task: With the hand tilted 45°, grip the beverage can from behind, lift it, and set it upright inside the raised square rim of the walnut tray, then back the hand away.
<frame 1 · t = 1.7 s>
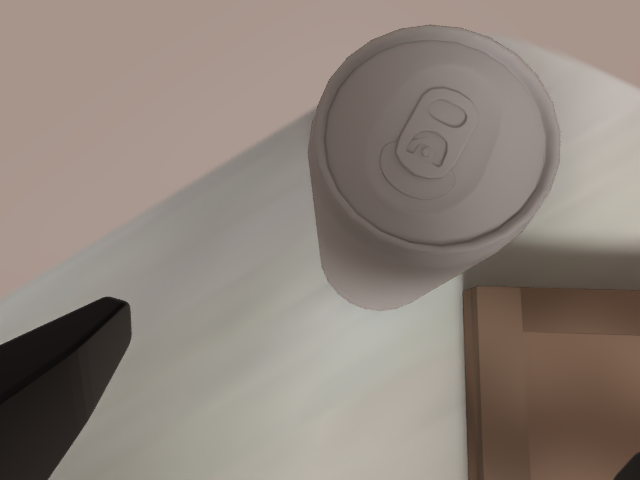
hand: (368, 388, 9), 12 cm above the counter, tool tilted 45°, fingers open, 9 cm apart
walnut tray: (626, 453, 19), on the counter
beverage can: (377, 254, 21), on the counter
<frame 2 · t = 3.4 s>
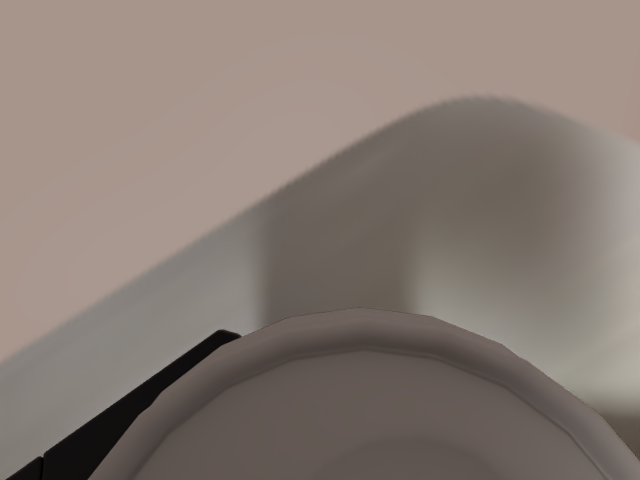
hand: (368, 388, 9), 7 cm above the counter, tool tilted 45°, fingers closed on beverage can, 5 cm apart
beverage can: (340, 415, 15), on the counter, touching gripper
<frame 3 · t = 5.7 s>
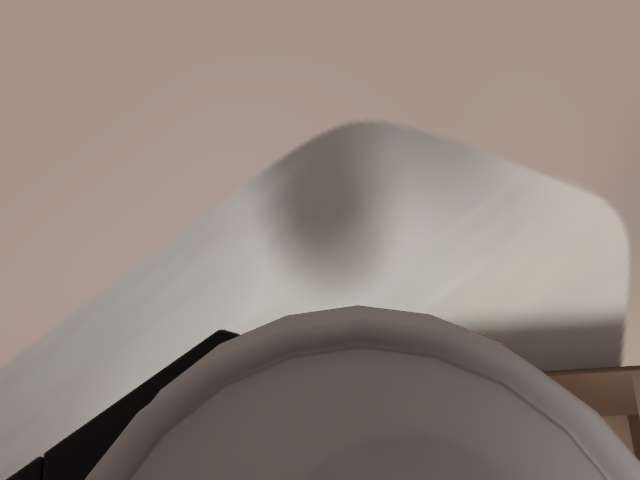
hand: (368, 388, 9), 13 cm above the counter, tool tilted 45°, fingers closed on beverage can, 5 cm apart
beverage can: (341, 413, 15), point 6 cm above the counter, touching gripper
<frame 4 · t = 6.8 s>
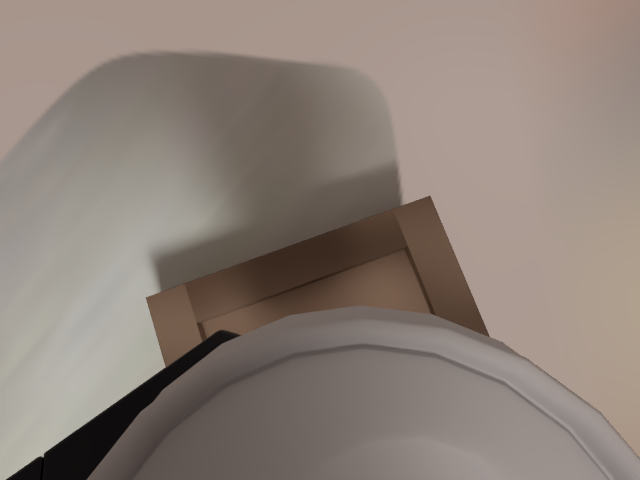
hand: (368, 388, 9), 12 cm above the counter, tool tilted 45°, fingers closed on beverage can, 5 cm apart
walnut tray: (341, 388, 21), on the counter
beverage can: (342, 413, 15), point 6 cm above the counter, touching gripper
when the fingers open (9 cm above the counter, at t = 7.9 s): beverage can stays where it is, resting on walnut tray.
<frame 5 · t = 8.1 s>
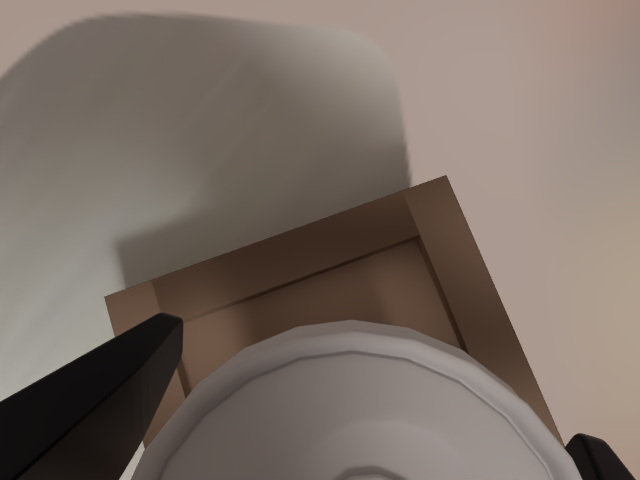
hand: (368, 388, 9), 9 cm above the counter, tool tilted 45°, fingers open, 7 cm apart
walnut tray: (340, 406, 17), on the counter
beverage can: (341, 413, 16), point 1 cm above the counter, touching walnut tray
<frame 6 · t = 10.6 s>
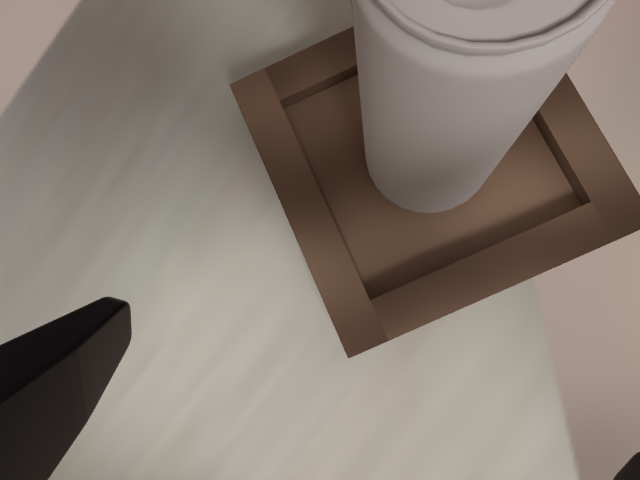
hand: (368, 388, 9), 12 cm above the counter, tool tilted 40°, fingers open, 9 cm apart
walnut tray: (422, 164, 21), on the counter
beverage can: (425, 159, 20), point 1 cm above the counter, touching walnut tray
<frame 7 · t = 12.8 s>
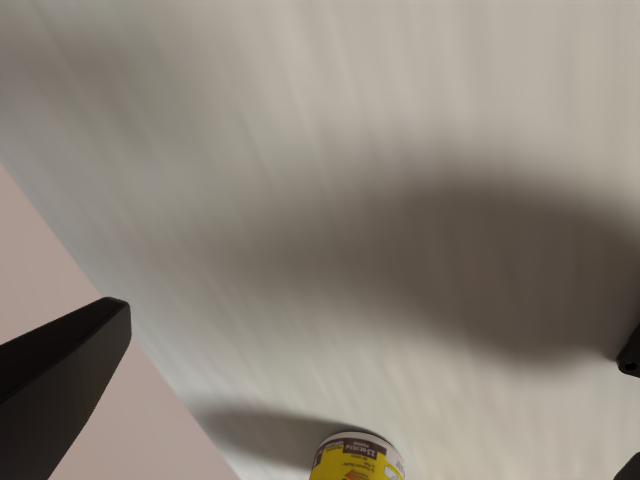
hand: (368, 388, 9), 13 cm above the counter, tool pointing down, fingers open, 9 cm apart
supplement bottle: (361, 453, 31), on the counter
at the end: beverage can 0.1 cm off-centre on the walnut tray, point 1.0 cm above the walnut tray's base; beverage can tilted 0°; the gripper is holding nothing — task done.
